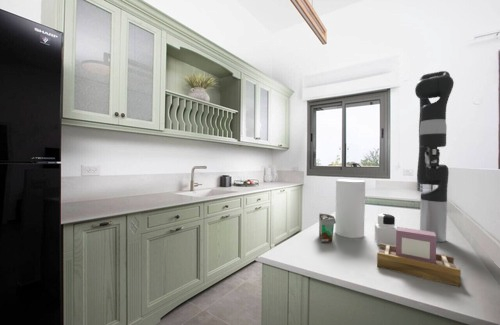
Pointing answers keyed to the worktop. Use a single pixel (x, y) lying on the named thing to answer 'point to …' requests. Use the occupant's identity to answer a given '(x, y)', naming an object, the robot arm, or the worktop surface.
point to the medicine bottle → (385, 230)
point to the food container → (326, 227)
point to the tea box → (416, 244)
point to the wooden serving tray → (419, 266)
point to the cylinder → (350, 208)
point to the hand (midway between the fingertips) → (431, 178)
